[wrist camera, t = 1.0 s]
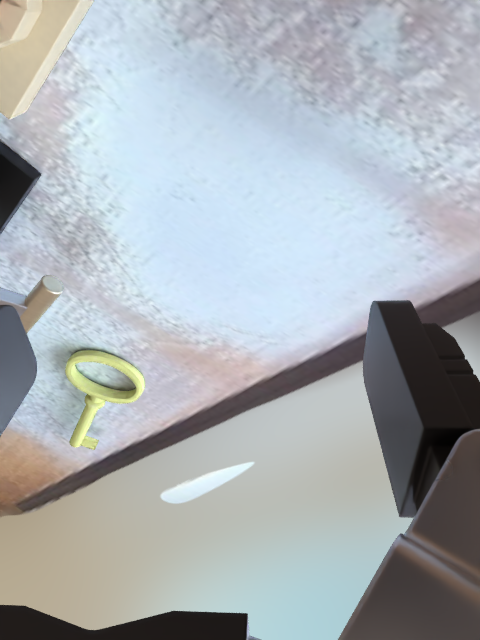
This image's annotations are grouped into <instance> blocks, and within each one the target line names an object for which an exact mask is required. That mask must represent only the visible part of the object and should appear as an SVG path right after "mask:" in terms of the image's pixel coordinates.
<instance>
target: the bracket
mask: <svg viewBox="0 0 480 640" xmlns="http://www.w3.org/2000/svg"><path fill="white" fill-rule="evenodd" d="M40 176H41V173H40V172H38V171H37V170H36V169H35V168H33V167H32V166H31V165H30V164H28V163H27V162H26V161H25V160H23V159H22V158H21V157H20V156H18V155H17V154H16V153H15V152H13V151H12V150H11V149H10V148H8V147H7V146H6V145H5V144H3V143H2V142H1V141H0V234H1V233H2V231H3V230H4V228H5V227H6V225H7V224H8V222H9V221H10V220H11V218H12V217H13V215H14V214H15V212H16V211H17V209H18V208H19V206H20V205H21V204H22V202H23V201H24V199H25V198H26V196H27V195H28V193H29V192H30V191H31V189H32V188H33V186H34V185H35V183H36V182H37V180H38V179H39V177H40Z"/></svg>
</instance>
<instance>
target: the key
mask: <svg viewBox="0 0 480 640" xmlns="http://www.w3.org/2000/svg"><path fill="white" fill-rule="evenodd" d="M79 362H97V363H102V364H106V365H109V366H111V367H114V368H116V369H118V370H119V371H121V372H123V373H124V374H125V375H127V376H128V377H129V378H130V379H131V380H132V381H133V383H134V384H135V386H136V388H135V389H134V390H131V391H119V390H113V389H110V388H107V387H104V386H101V385H99V384H96V383H94V382H92V381H90V380H89V379H87V378H86V377H84V376H83V375H82V374H81V373H80V372H78V370H77V369H76V366H75V364H77V363H79ZM65 373H66V376H67V378H68V380H69V381H70V382H71V383H72V384H73V385H74V386H75V387H76V388H78V389H79V390H81V391H82V392H84V393H86V394H87V395H86V396H85V400H84V401H85V404H86V406H85V408H84V410H83V413H82V415H81V417H80V419H79V421H78V424H77V426H76V428H75V430H74V432H73V435H72V437H71V439H70V445H71V446H73V447H79V446H80V445H81V446H84V447H87V448H90V449H93V450H95V448H96V446H97V444H98V441H99V440H96V439H94V438H91V437H88V436H85V435H86V433H87V431H88V429H89V427H90V425H91V423H92V421H93V419H94V416H95V414H96V412H97V410H98V409H100V408H102V407H103V406H104V405H105V401H108V402H112V403H119V404H120V403H131V402H134V401H136V400H137V399H138V398H139V397H140V395H141V394H142V392H143V390H144V388H145V381H144V377H143V375H142V374H141V373H140V372H139V371H138V370H137V369H136V368H135V367H134V366H133V365H131V364H130V363H128V362H126V361H124V360H123V359H120V358H118V357H116V356H114V355H111V354H108V353H104V352H101V351H95V350H81V351H78V352H76V353H74V354H73V355H72V356H71V357H70V358H69V359H68V361H67V365H66V369H65Z"/></svg>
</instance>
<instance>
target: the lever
mask: <svg viewBox="0 0 480 640" xmlns="http://www.w3.org/2000/svg"><path fill="white" fill-rule="evenodd" d="M63 290H64V286H63V284H62V282H61V281H60V280H59V279H58V278H56V277H54V276H52V275H46V276H43V277H42V278H41V280H40V281H39V282H38V283H37V285H36V286H35V287H34V288H33V290H32V291H31V292H30V293H29V294H28V296H25V295H22V294H19V293H16V292H13V291H10V290H7V289H4V288H0V305H11V306H13V307H14V308H15V309H16V310H17V312H18V314H19V316H20V319H21V322H22V324H23V327H24V329H25V332H26V334H27V333H28V331H29V330H30V329H31V328H32V327H33V326H34V324H35V323H36V322H37V321H38V320H39V319H40V318H41V316H42V315H43V314H44V313H45V312H46V311H47V309H48V308H49V307H50V306H51V305H52V304H53V303H54V301H55V300H56V299H57V298H58V297H59V296H60V294H61V293H62V292H63Z"/></svg>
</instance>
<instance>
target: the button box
mask: <svg viewBox="0 0 480 640" xmlns="http://www.w3.org/2000/svg"><path fill="white" fill-rule="evenodd" d="M93 2H94V0H0V112H1V113H2V114H3V115H4V116H6V117H7V118H8V119H12V118H14V117H17V116H19V115H21V114H23V113H25V112H26V111H27V110H28V108H29V106H30V105H31V103H32V101H33V100H34V98H35V97H36V95H37V93H38V92H39V90H40V88H41V87H42V85H43V83H44V82H45V80H46V79H47V77H48V75H49V74H50V72H51V70H52V69H53V67H54V65H55V64H56V62H57V61H58V59H59V57H60V56H61V54H62V52H63V51H64V49H65V48H66V46H67V44H68V43H69V41H70V39H71V38H72V36H73V34H74V33H75V31H76V30H77V28H78V26H79V25H80V23H81V21H82V20H83V18H84V16H85V15H86V13H87V12H88V10H89V8H90V7H91V5H92V3H93Z"/></svg>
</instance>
